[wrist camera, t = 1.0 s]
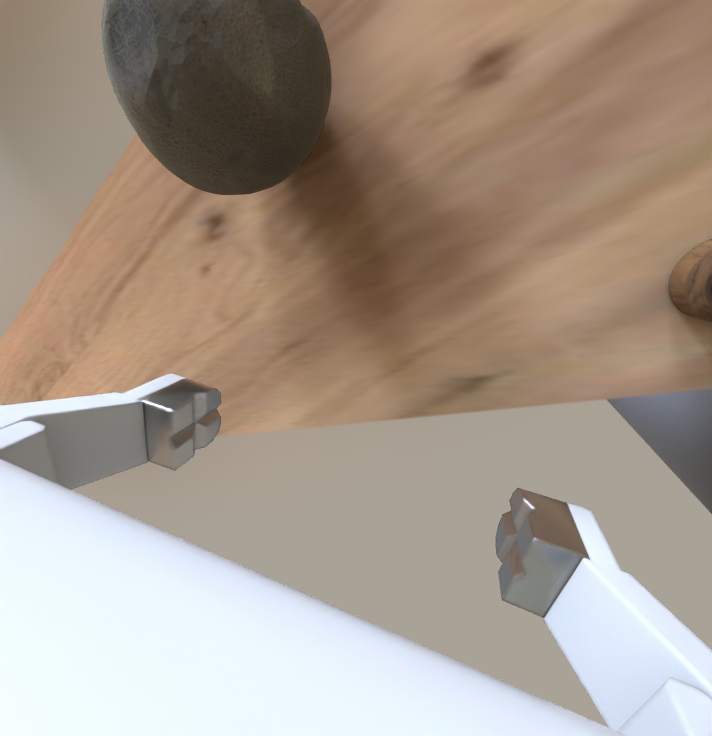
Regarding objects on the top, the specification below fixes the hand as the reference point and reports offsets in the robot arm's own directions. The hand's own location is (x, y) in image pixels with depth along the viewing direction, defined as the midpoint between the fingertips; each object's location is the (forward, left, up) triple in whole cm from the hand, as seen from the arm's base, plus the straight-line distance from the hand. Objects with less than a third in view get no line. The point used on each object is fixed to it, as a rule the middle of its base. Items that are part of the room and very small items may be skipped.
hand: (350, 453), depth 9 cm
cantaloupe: (+20, +6, -27) cm, 34 cm away
